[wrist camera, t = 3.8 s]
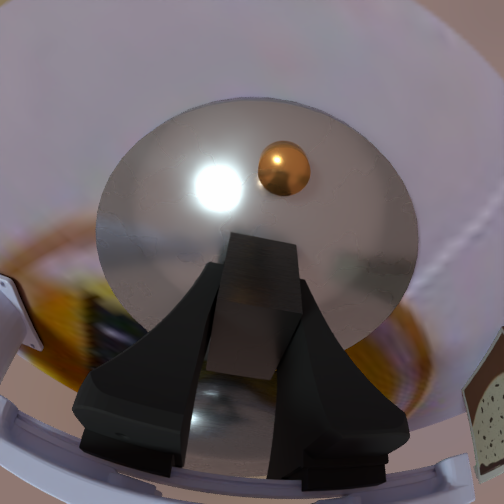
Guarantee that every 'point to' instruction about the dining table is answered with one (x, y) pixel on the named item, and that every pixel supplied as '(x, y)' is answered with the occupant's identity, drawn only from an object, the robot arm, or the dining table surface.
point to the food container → (487, 411)
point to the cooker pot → (232, 424)
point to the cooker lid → (258, 226)
